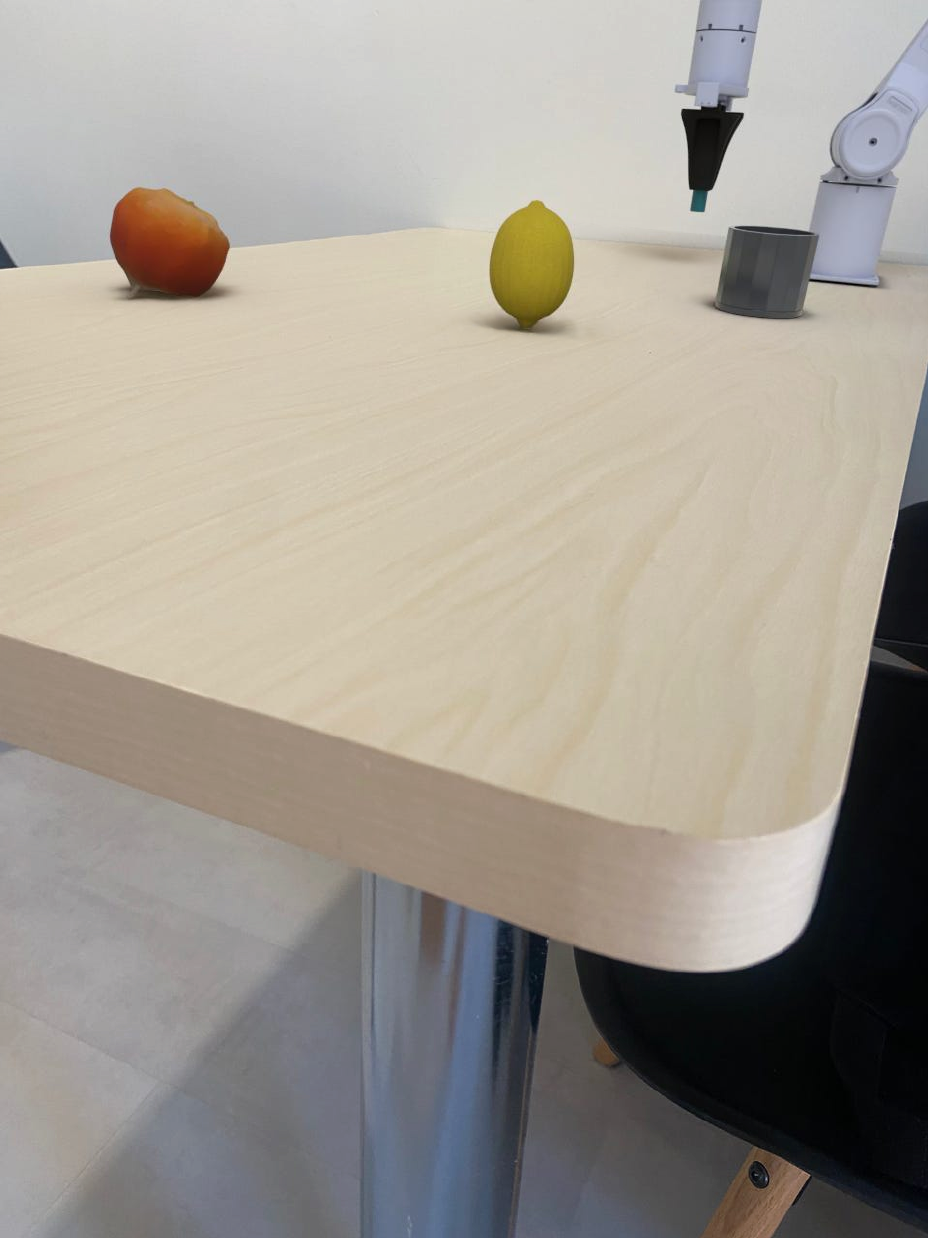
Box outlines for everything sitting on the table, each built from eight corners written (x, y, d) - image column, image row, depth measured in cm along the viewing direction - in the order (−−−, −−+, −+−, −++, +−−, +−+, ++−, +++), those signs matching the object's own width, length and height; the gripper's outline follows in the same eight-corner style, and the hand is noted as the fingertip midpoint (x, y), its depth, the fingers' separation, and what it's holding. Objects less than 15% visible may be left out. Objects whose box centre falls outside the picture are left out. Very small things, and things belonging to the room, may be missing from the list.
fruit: (80, 263, 66) (128, 161, 65) (181, 318, 71) (228, 224, 69) (91, 282, 60) (144, 169, 58) (200, 341, 65) (253, 238, 63)
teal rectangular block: (690, 210, 95) (703, 129, 91) (705, 211, 95) (718, 129, 91) (689, 211, 94) (701, 129, 90) (703, 212, 93) (717, 129, 90)
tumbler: (719, 299, 77) (733, 223, 74) (802, 308, 75) (820, 230, 73) (710, 311, 72) (725, 229, 69) (799, 321, 70) (818, 237, 67)
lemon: (562, 340, 59) (576, 205, 55) (479, 332, 60) (486, 199, 56) (571, 325, 64) (584, 200, 60) (493, 318, 64) (501, 194, 61)
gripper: (693, 39, 94) (672, 184, 100) (672, 23, 82) (650, 189, 88) (763, 41, 92) (737, 188, 98) (752, 25, 80) (723, 195, 86)
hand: (700, 189), depth 93 cm, fingers closed on teal rectangular block, 1 cm apart
